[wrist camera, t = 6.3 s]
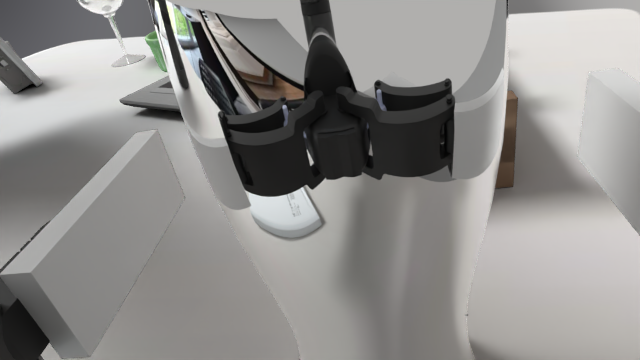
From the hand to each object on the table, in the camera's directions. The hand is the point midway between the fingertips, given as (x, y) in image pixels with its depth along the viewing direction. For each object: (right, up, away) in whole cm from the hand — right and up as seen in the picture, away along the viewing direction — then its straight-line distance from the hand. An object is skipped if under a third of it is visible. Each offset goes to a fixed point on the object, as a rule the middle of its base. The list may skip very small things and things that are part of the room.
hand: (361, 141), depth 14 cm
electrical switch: (-45, +12, +51) cm, 69 cm away
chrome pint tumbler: (+1, -8, +2) cm, 9 cm away
